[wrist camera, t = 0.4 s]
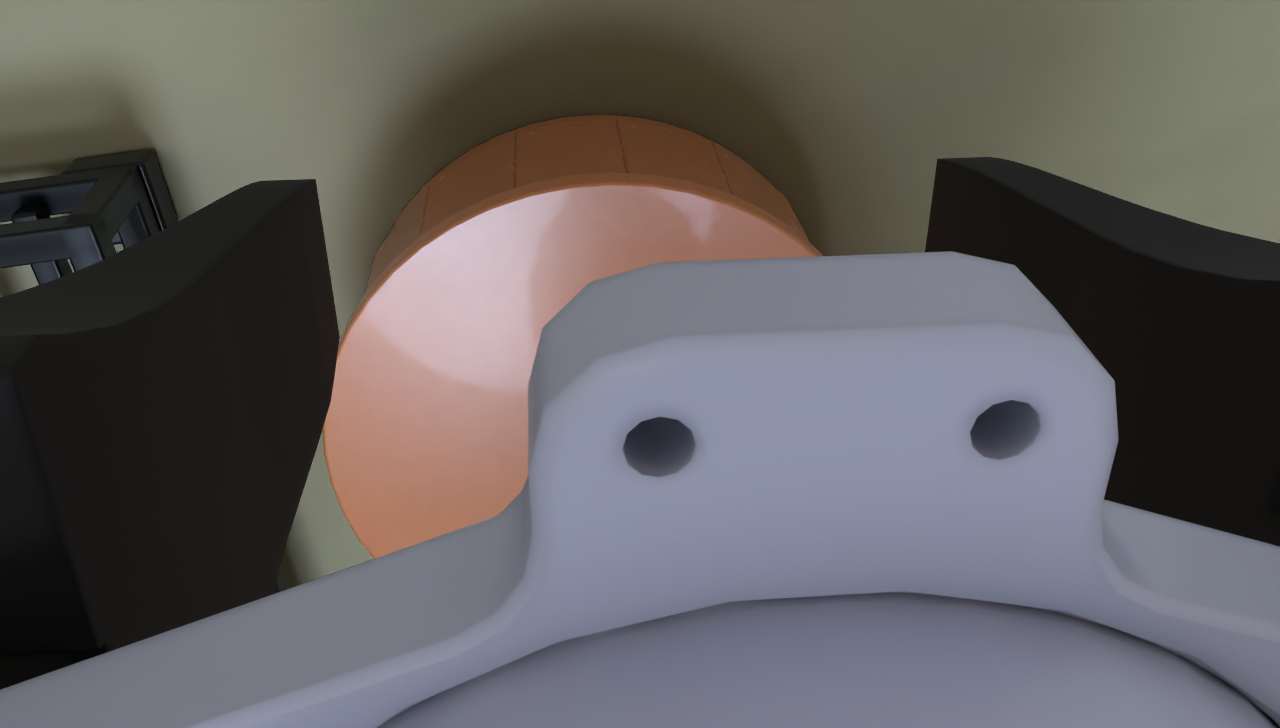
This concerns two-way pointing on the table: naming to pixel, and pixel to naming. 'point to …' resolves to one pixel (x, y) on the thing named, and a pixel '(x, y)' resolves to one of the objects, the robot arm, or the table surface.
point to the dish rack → (84, 216)
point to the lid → (496, 337)
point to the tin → (578, 170)
